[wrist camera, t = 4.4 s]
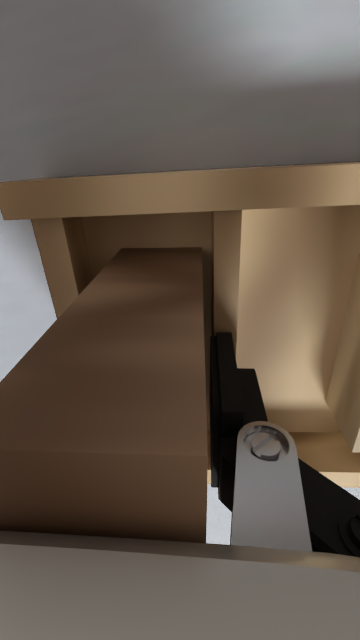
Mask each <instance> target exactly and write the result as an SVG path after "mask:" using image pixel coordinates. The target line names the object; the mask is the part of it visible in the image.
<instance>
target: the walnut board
mask: <svg viewBox="0 0 360 640" xmlns="http://www.w3.org/2000/svg"><path fill="white" fill-rule="evenodd" d="M207 468H208V447H207V414H206V380H205V347H204V313H203V280H202V247H178V248H121V249H120V250H119V252H118V253H117V254H116V255H115V256H114V257H113V258H112V259H111V260H110V262H109V263H108V264H107V265H106V266H105V267H104V268H103V269H102V270H101V271H100V273H99V274H98V275H97V276H96V277H95V278H94V279H93V280H92V281H91V283H90V284H89V285H88V286H87V287H86V288H85V289H84V290H83V291H82V292H81V294H80V295H79V296H78V297H77V298H76V299H75V300H74V301H73V302H72V304H71V305H70V306H69V307H68V308H67V309H66V310H65V311H64V312H63V314H62V315H61V316H60V317H59V318H58V319H57V320H56V321H55V322H54V323H53V325H52V326H51V327H50V328H49V329H48V330H47V331H46V332H45V333H44V335H43V336H42V337H41V338H40V339H39V340H38V341H37V342H36V343H35V344H34V346H33V347H32V348H31V349H30V350H29V351H28V352H27V353H26V354H25V356H24V357H23V358H22V359H21V360H20V361H19V362H18V363H17V364H16V365H15V367H14V368H13V369H12V370H11V371H10V372H9V373H8V374H7V375H6V377H5V378H4V379H3V380H2V381H1V382H0V531H15V532H33V533H50V534H66V535H82V536H99V537H115V538H131V539H147V540H162V541H177V542H192V543H206V513H207Z"/></svg>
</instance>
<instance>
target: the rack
mask: <svg viewBox="0 0 360 640" xmlns="http://www.w3.org/2000/svg"><path fill="white" fill-rule="evenodd" d="M0 209H1V213H2V216H3V219H4V220H19V219H31V222H32V226H33V229H34V233H35V237H36V241H37V245H38V248H39V252H40V256H41V260H42V264H43V267H44V271H45V275H46V279H47V282H48V286H49V290H50V294H51V298H52V301H53V305H54V309H55V313H56V317H57V319H58V318H59V317H60V316H61V315H62V314H63V312H64V311H65V310H66V309H67V308H68V307H69V306H70V305H71V304H72V302H73V301H74V300H75V299H76V298H77V297H78V296H79V295H80V294H81V292H82V291H83V290H84V289H85V288H86V287H87V286H88V285H89V284H90V283H91V281H92V280H93V279H94V278H95V277H96V276H97V275H98V274H99V273H100V271H101V270H102V269H103V268H104V267H105V266H106V265H107V264H108V263H109V262H110V260H111V259H112V258H113V257H114V256H115V255H116V254H117V253H118V252H119V250H120V249H121V248H178V247H202V280H203V313H204V347H205V380H206V414H207V447H208V468H207V484H211V451H210V401H209V396H210V336H216V332H231V333H232V338H233V345H234V351H235V357H236V363H237V368H254V369H255V371H256V375H257V379H258V383H259V387H260V391H261V395H262V399H263V403H264V407H265V411H266V415H267V419H268V422H270V423H274V424H276V425H278V426H280V427H282V428H283V429H285V430H286V431H287V432H288V433H289V434H290V435H291V436H292V438H293V439H294V442H295V445H296V449H297V456H298V458H299V459H301V460H302V461H304V462H305V463H306V464H308V465H309V466H311V467H312V468H314V469H315V470H317V471H318V472H320V473H321V474H322V475H324V476H325V477H327V478H328V479H330V480H331V481H333V482H334V483H336V484H337V485H338V486H340V487H358V488H360V452H352V451H351V449H350V447H349V445H348V444H347V442H346V440H345V438H344V436H343V434H342V432H341V430H340V428H339V426H338V424H337V423H336V421H335V419H334V417H333V415H332V413H331V411H330V409H329V407H328V405H327V404H326V397H327V393H328V388H329V384H330V379H331V375H332V370H333V366H334V361H335V357H336V352H337V348H338V344H339V339H340V335H341V330H342V326H343V321H344V317H345V312H346V308H347V303H348V299H349V294H350V290H351V285H352V281H353V276H354V272H355V267H356V263H357V258H358V254H360V161H357V162H338V163H319V164H300V165H282V166H263V167H244V168H226V169H207V170H188V171H169V172H151V173H132V174H113V175H94V176H76V177H57V178H40V179H30V180H20V181H10V182H0Z"/></svg>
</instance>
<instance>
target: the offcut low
mask: <svg viewBox="0 0 360 640" xmlns="http://www.w3.org/2000/svg"><path fill="white" fill-rule="evenodd" d="M326 404H327V405H328V407H329V409H330V411H331V413H332V415H333V417H334V419H335V421H336V423H337V424H338V426H339V428H340V430H341V432H342V434H343V436H344V438H345V440H346V442H347V444H348V445H349V447H350V449H351V451H352V452H360V254H358V258H357V263H356V267H355V272H354V276H353V281H352V285H351V290H350V294H349V299H348V303H347V308H346V312H345V317H344V321H343V326H342V330H341V335H340V339H339V344H338V348H337V352H336V357H335V361H334V366H333V370H332V375H331V379H330V384H329V388H328V393H327V397H326Z"/></svg>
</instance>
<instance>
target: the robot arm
mask: <svg viewBox="0 0 360 640" xmlns="http://www.w3.org/2000/svg"><path fill="white" fill-rule="evenodd" d="M209 401H210V451H211V487H218V495H219V500H220V501H221V502H222V503H223V504H224V505H225V506H226V507H227V508H228V509H229V510H230V511H231V512H232V519H231V535H230V545H221V544H207V543H192V542H177V541H162V540H147V539H131V538H115V537H99V536H82V535H66V534H50V533H33V532H15V531H0V640H360V500H359V499H357V498H356V497H354V496H353V495H352V494H350V493H349V492H347V491H346V490H344V489H343V488H341V487H340V486H338V485H337V484H336V483H334V482H333V481H331V480H330V479H328V478H327V477H325V476H324V475H322V474H321V473H320V472H318V471H317V470H315V469H314V468H312V467H311V466H309V465H308V464H306V463H305V462H304V461H302V460H301V459H299V458H298V456H297V449H296V445H295V442H294V439H293V438H292V436H291V435H290V434H289V433H288V432H287V431H286V430H285V429H283V428H282V427H280V426H278V425H276V424H274V423H270V422H268V419H267V415H266V411H265V407H264V403H263V399H262V395H261V391H260V387H259V383H258V379H257V375H256V371H255V369H254V368H237V363H236V357H235V351H234V345H233V338H232V333H231V332H216V336H210V396H209Z"/></svg>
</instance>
